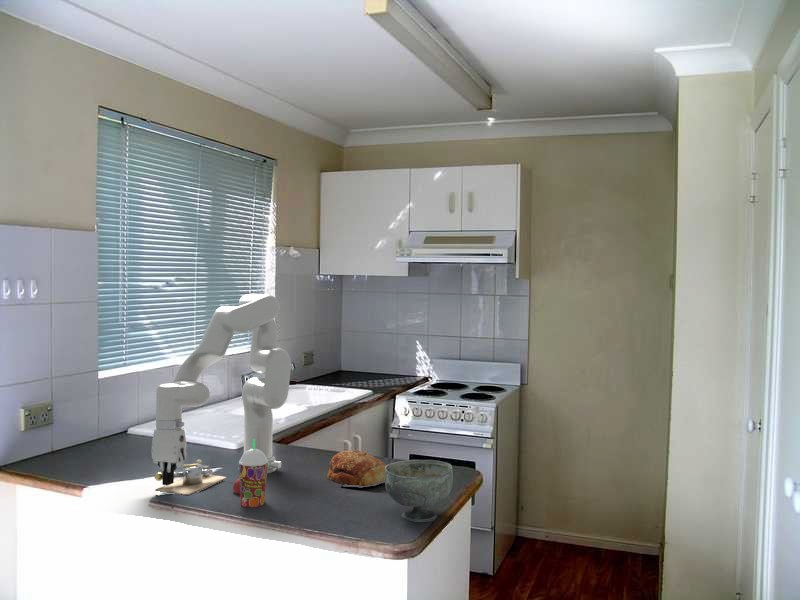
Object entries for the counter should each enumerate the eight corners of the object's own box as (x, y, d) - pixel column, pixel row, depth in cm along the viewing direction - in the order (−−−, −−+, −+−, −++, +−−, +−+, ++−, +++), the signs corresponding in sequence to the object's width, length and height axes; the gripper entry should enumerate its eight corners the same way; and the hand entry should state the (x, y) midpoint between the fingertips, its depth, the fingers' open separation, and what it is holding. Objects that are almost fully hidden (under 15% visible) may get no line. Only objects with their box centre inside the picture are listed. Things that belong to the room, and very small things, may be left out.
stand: (227, 483, 222) (227, 461, 221) (188, 500, 203) (188, 477, 203) (196, 478, 226) (196, 457, 226) (155, 495, 207) (155, 473, 207)
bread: (359, 471, 240) (360, 443, 240) (401, 481, 229) (402, 451, 229) (319, 484, 223) (320, 454, 223) (362, 495, 212) (363, 463, 212)
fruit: (243, 501, 203) (244, 475, 203) (230, 498, 206) (230, 471, 206) (258, 496, 208) (259, 470, 208) (245, 493, 211) (245, 467, 211)
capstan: (211, 477, 219) (211, 460, 219) (214, 482, 214) (214, 464, 214) (153, 483, 212) (153, 465, 212) (155, 488, 207) (155, 470, 207)
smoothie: (240, 514, 192) (242, 443, 192) (235, 505, 200) (236, 437, 199) (270, 510, 195) (271, 441, 195) (263, 502, 203) (265, 435, 203)
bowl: (394, 505, 203) (395, 455, 203) (458, 512, 197) (459, 460, 197) (373, 526, 184) (374, 471, 184) (443, 535, 179) (444, 478, 178)
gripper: (196, 424, 209) (196, 483, 209) (157, 420, 214) (156, 478, 214) (181, 429, 202) (180, 490, 202) (140, 424, 207) (139, 484, 207)
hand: (168, 484), depth 208 cm, fingers closed
